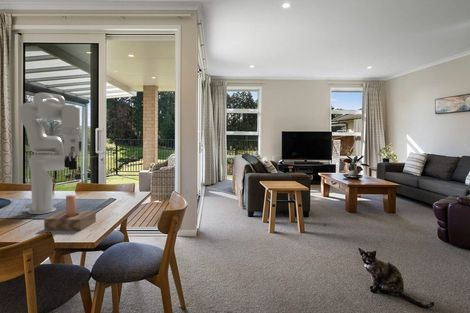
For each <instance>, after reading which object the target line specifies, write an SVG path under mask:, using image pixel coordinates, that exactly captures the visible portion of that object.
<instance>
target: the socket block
mask: <svg viewBox="0 0 470 313" xmlns="http://www.w3.org/2000/svg"><path fill="white" fill-rule="evenodd" d="M43 223H44V224H43V229H44V231H71V232H72V231H76V232H82V231H83V230H84V229H87V228H88V227H89V226H91V225H92V224H94V223H96V211H86V210H85V211H83V210H82V211H81V210H78V211H77V210H76V216H75V217H66V210H62V211H59V212H56V213H55V214H51V215H50V216H48V217H44V219H43Z"/></svg>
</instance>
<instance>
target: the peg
mask: <svg viewBox="0 0 470 313" xmlns="http://www.w3.org/2000/svg"><path fill="white" fill-rule="evenodd" d="M65 208H66V209H65V211H66V217H75V216H76V211H77V195H75V194H68V195H66V196H65Z"/></svg>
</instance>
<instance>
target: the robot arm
mask: <svg viewBox="0 0 470 313" xmlns="http://www.w3.org/2000/svg"><path fill="white" fill-rule="evenodd" d="M32 101H33V102H26V103H25V102H24V103H22V104H21V105H20V106H19V110H18V111H19V119H20V121H21V123H22V125H23V126H24V128H25V131H26V136H27V141H28V142H27V143H28V146H29V150H30V151H31V152H33V153H35V154H33V155H30V156H29V158H28V166H29V170H30V179H31V183H30V184H31V185H30V186H31V203H26V204H25V206H24V208H27V209H28V208H29V209H28V211H27V212H28V214H30V215H42V214H50V213H53V212H55V211H57V207H55V206H54V205H53V201H54V200H53V198H54V197H53V196H54V195H53V178H52V176H51V175H50V174H49V173H48V172H53V171H62V170H65V169H66V168H68V170H69V171H77V169H78V168H77V167H78V166H77V165H78V164H77V163H78V160H77V157H79V156H80V145H79V136H80V134H81V133H80V131H81V128H80V127H81V126H80V124H81V123H80V122H81V120H80V119H81V113H80V112H81V110H80V107H79V106H78V105H74V104H66V99H65V98H64V96H63V95H61V94H58V93H57V94H56V93H52V92H51V93H50V92H37V93H36V94H34V95H33V97H32ZM38 120H47V121H60V126H61V128H60V135H62V136H63V140H62V138H61V137H60V136H58V135H47V134H46V130H45V127H44V126H43V125H42V124H41V122H39V121H38Z"/></svg>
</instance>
